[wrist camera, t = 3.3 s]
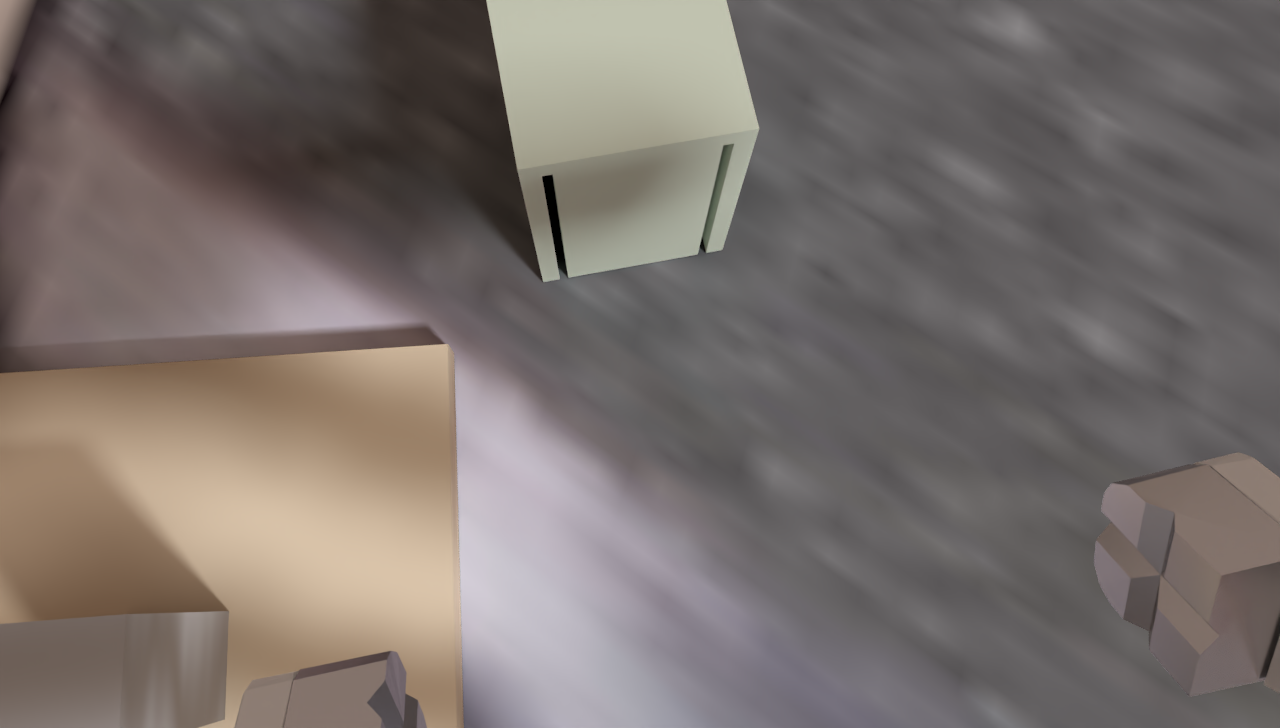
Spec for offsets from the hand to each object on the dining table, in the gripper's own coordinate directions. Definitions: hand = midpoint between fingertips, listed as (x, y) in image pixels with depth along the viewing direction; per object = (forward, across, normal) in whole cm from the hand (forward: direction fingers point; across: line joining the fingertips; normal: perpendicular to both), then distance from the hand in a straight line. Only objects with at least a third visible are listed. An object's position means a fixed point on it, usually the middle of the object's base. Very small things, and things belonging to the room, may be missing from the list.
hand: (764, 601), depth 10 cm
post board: (+11, +13, +10) cm, 19 cm away
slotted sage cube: (+19, -1, +2) cm, 19 cm away
